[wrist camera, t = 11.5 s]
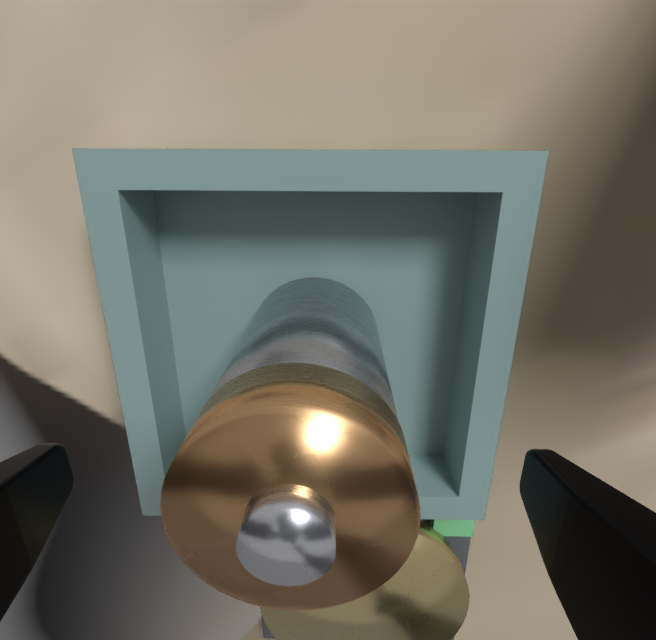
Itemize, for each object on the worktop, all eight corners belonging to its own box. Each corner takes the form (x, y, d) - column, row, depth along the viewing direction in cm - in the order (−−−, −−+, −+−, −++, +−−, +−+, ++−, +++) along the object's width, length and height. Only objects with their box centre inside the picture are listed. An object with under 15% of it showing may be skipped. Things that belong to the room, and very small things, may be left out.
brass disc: (452, 653, 19) (456, 673, 18) (267, 650, 19) (264, 670, 19) (475, 509, 16) (482, 526, 16) (257, 507, 16) (253, 523, 16)
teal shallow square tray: (460, 462, 18) (484, 520, 15) (172, 459, 18) (142, 515, 15) (503, 153, 13) (549, 150, 11) (126, 150, 14) (71, 148, 11)
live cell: (377, 395, 16) (416, 646, 8) (254, 393, 16) (166, 640, 8) (382, 276, 14) (439, 434, 6) (246, 275, 14) (123, 430, 6)
